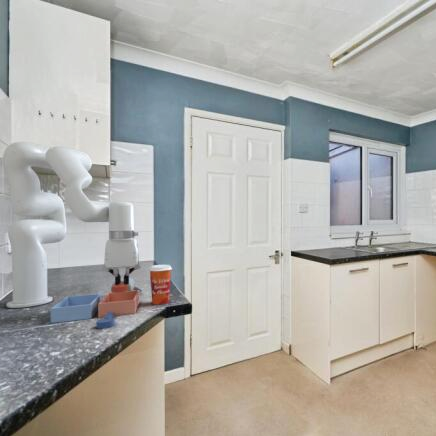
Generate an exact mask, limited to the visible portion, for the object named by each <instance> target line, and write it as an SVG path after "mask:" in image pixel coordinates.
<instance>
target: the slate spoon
mask: <svg viewBox="0 0 436 436" xmlns="http://www.w3.org/2000/svg"><path fill="white" fill-rule="evenodd" d="M95 325H96V326H95V327H96V329H98V330H99V329H100V330H102V329H108V328H111V327H114V326H115V318H114V316H113V312H108V313H107V315H106V316H105V317H103V318H99V319H97V320H96V322H95Z"/></svg>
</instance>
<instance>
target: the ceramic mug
mask: <svg viewBox="0 0 436 436" xmlns="http://www.w3.org/2000/svg"><path fill="white" fill-rule="evenodd" d="M120 276H121V281H124V276H125V275H120ZM112 286H115V281H114V282H113V283H112V285H111V287H110V293H112ZM134 290H140V296H141V295H142V294H143V290H142V289H141V288H140V287H138V286H136V281H135V280H134V278H133V277H131V276H129V284H127V291H134Z"/></svg>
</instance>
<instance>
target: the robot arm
mask: <svg viewBox="0 0 436 436" xmlns="http://www.w3.org/2000/svg"><path fill="white" fill-rule="evenodd" d="M2 163H3V166H4V170H5V172H6V176H7V179H8V190H9V199H10V206H11V210H12V212H13V213H14V214H15V215H17V216H22V217H41V219H39V218H37V219H36V218H35V219H31V218H30V219H21V220H17V221H14V222H13V223H11V225H9V227H8V229H7V236H8V237H7V238H8V240H9V243H10V248H11V249H10V250H11V268H12V269H11V270H12V272H11V273H12V274H11V277H12V279H11V280H12V300H11V301H8V302H7V303H6V308H8V309H21V308H29V307H30V308H31V307H36V306H41V305H42V306H43V305H45V304H48V303H51V302H53V301H54V298H53V296H48V254H47V251H46V250H45V248H44V247H43V246H42V245H45V244H54V243H60V242H61V241H63V240H64V239H65V237H66V236H67V231H68V229H67V219H66V209H65V205H66V206H67V208H68V209H69V210H70V212H71V213H72V214H73V215H74V217H75V218H77V219H78V220H80V221H82V222H84V223H108V239H107V240H106V242H105V248H104V258H103V259H104V260H103V261H104V264H103V266H102V269H101V270H102V272H105V273H106V272H107V273H110V274H111V275H112V276H113V277H114V282H115V285H119V284H120V282H121V276H122V275H121V274H120V270H119V269H120V268H122V269H123V268H125V270H124V271H125V272H124V275H123V276H124V285H127V284H129V277H130V275H131V274H132V273H133V272H134V271H137V270H139V269H141V268H142V266H141V264H140V262H139V261H140V257H139V245H138V240H137V238H135V237H138V236H139V231H138V232H137V231H135V224H134V223H135V221H134V220H135V219H134V218H135V216H134V214H135V213H134V212H135V211H134V204H133V203H132V202H130V201H100V200H90V198H88V197H87V195H86V194H85V193H84V191H83V190H84V189H86V188H87V187H89V186H90V185H91V184H92V182H93V177H92V175H91V174H90V173H89V171H90V170H91V168H92V166H93V161H92V159H91V157H90V155H88V153H86V152H85V151H82V150H78V149H75V148H69V147H65V146H53V147H52V146H46V145H42V144H38V143H33V142H28V141H27V142H26V141H16V142H13V143H10V144H9V145H8V146H6V148H5V149H4V152H3V155H2ZM33 167H35V168H41V169H47V170H53V172H54V173H55V174H56V176H57V177H58V178H59V179H60V180H61V182H62V183H63V185H64V186H65V188H64V193H63V196H64V201H63V199H62V198H61V197H60V195H58V194H56V193H54V192H48V191H42V187H41V181H40V178H39V176H38V174H37V172H35V171H34V170H33ZM64 202H65V204H64Z"/></svg>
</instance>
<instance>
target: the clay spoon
mask: <svg viewBox="0 0 436 436" xmlns="http://www.w3.org/2000/svg"><path fill="white" fill-rule="evenodd" d="M111 287H112V292H114V293H118V292H124V291H127V285H124V281H121V282H120V284H119V285H115V286H112V285H111ZM112 292H111V293H112Z"/></svg>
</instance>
